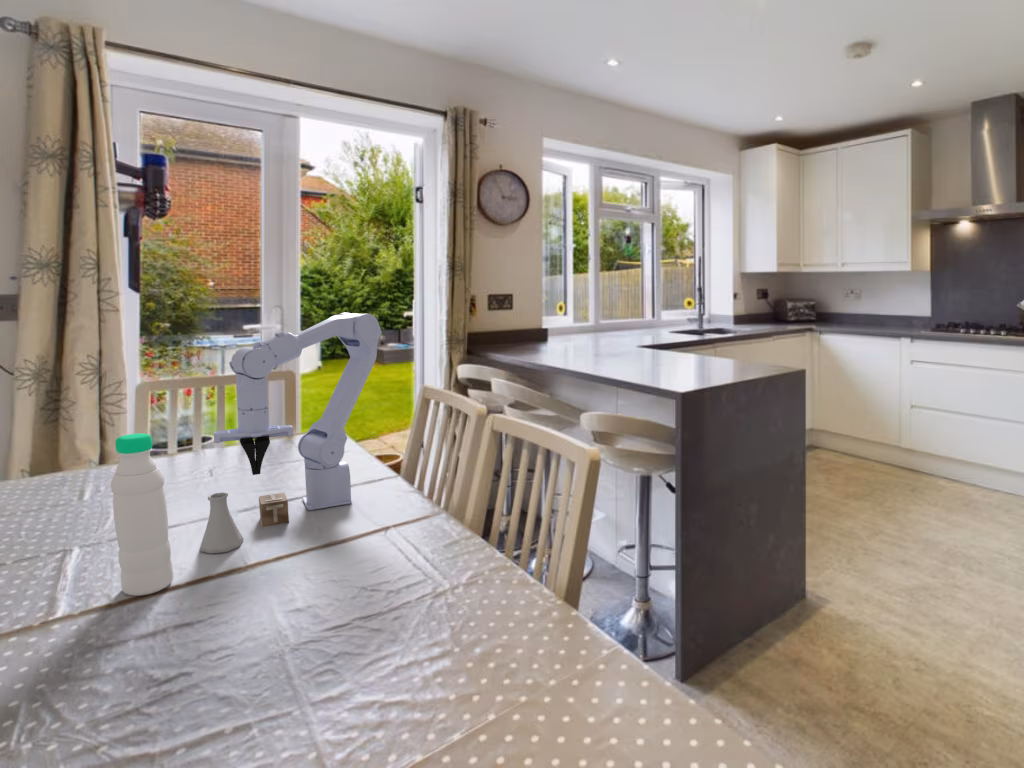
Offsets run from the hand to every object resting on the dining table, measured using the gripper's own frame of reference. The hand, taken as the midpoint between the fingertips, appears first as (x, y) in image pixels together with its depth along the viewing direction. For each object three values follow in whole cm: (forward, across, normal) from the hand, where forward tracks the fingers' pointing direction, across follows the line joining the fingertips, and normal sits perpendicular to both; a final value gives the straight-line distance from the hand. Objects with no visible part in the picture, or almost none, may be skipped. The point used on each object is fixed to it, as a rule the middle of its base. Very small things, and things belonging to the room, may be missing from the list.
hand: (256, 473), depth 116 cm
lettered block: (+10, +3, -1) cm, 11 cm away
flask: (+11, -7, -9) cm, 16 cm away
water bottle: (+11, -18, -20) cm, 29 cm away
